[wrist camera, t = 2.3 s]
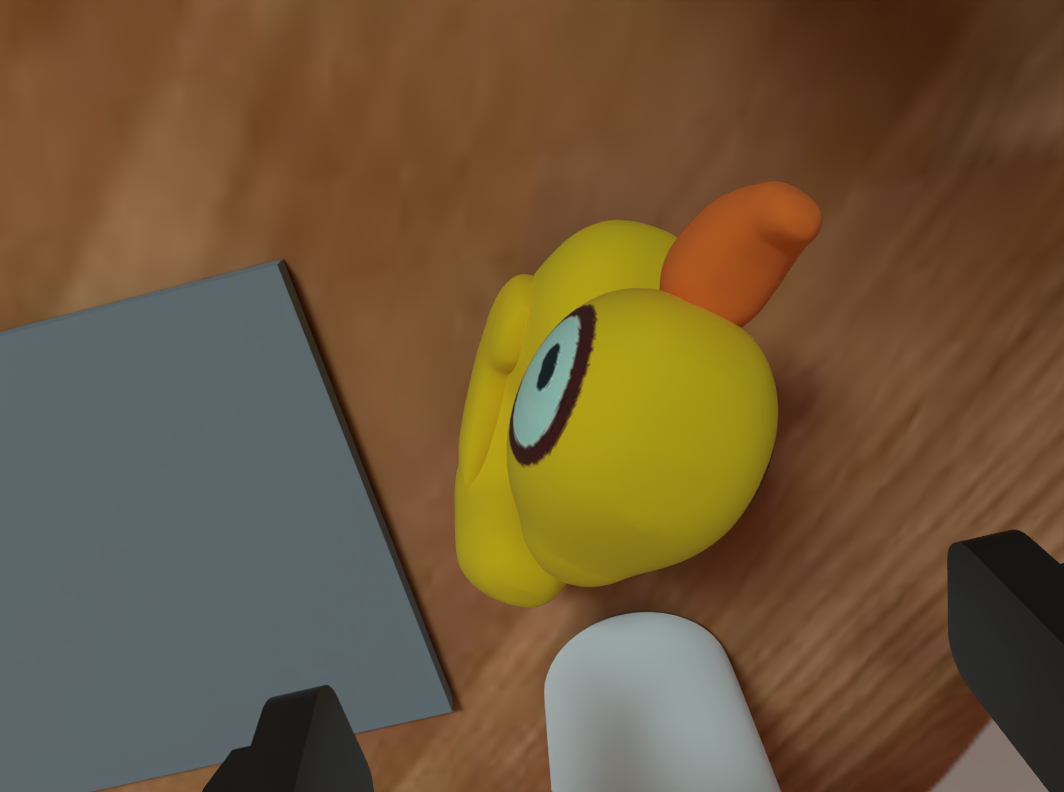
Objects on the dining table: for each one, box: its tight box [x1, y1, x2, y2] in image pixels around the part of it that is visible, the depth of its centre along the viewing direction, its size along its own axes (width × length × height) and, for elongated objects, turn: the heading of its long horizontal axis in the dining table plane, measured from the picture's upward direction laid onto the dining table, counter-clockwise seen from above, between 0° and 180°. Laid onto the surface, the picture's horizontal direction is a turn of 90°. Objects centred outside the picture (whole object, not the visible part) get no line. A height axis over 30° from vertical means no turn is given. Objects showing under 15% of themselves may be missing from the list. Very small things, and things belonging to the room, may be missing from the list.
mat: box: [0, 259, 453, 792], centre depth 24 cm, size 18×16×1 cm
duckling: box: [455, 181, 822, 608], centre depth 17 cm, size 11×5×10 cm, turn 154°
